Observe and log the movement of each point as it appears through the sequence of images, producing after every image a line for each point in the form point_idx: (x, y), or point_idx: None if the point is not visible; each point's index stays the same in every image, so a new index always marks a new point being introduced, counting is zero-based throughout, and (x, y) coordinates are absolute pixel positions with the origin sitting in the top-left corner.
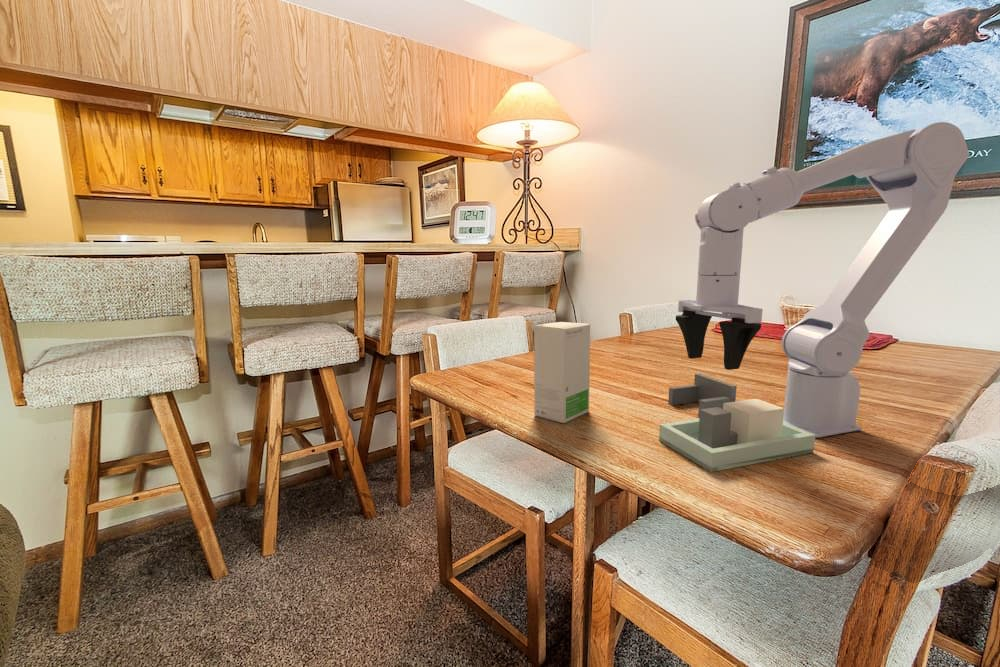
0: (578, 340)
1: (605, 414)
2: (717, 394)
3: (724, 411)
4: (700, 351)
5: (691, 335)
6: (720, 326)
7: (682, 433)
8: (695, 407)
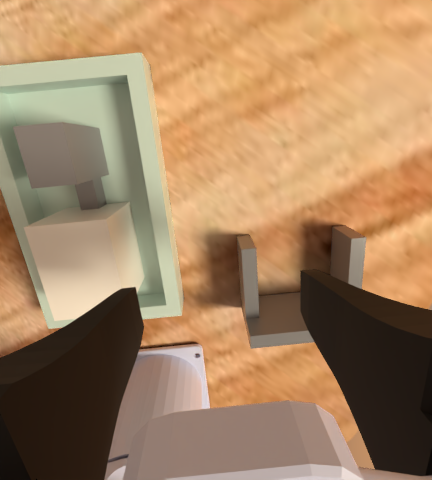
0: None
1: (339, 16)
2: (283, 313)
3: (42, 177)
4: (308, 321)
5: (349, 324)
6: (16, 378)
7: (75, 74)
8: (301, 265)
